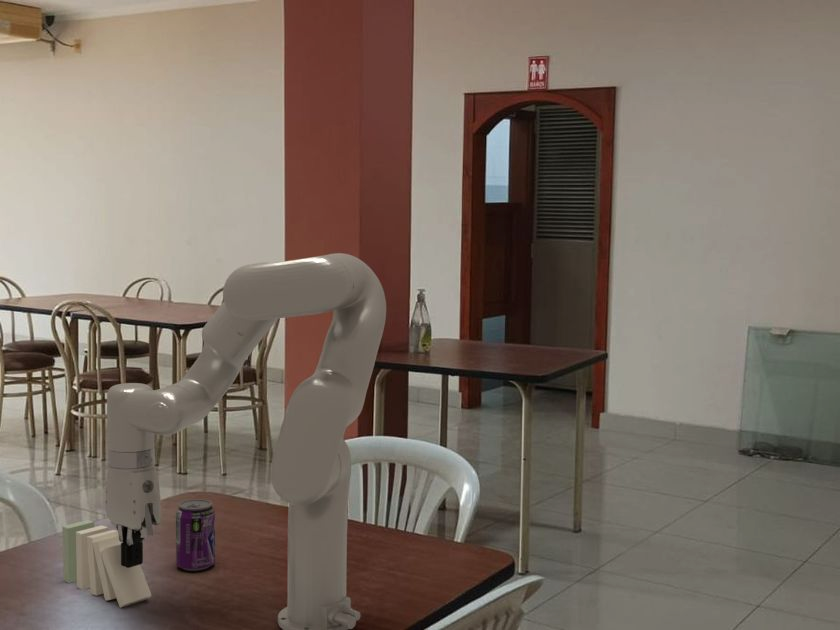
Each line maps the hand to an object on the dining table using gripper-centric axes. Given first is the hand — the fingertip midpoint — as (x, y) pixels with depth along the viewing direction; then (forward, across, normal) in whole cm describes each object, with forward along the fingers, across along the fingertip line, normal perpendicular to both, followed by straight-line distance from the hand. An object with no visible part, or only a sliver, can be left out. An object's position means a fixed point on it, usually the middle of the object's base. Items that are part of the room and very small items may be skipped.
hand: (131, 564), depth 172 cm
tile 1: (+6, -1, 0) cm, 6 cm away
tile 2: (+6, +3, 0) cm, 7 cm away
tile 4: (+7, +12, 0) cm, 14 cm away
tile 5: (+7, +17, 0) cm, 18 cm away
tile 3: (+7, +8, 0) cm, 10 cm away
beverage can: (+7, +7, -18) cm, 21 cm away
